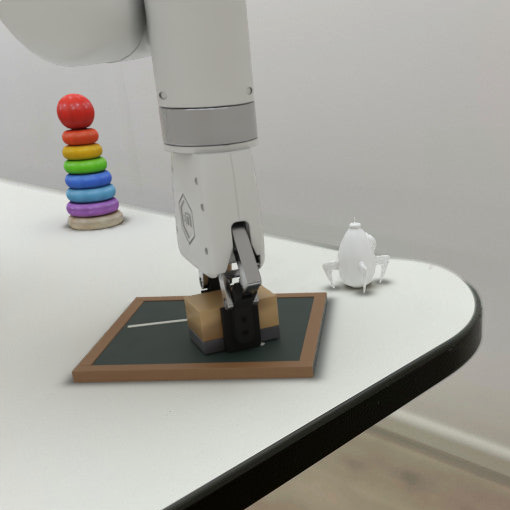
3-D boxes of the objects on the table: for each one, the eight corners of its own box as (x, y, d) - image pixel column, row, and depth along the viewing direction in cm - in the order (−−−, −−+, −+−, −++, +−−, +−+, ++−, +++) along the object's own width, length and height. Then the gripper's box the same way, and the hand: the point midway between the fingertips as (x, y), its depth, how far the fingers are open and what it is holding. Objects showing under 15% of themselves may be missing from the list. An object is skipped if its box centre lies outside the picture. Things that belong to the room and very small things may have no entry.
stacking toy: (135, 221, 116) (114, 91, 109) (98, 234, 110) (74, 96, 102) (95, 217, 120) (72, 91, 112) (57, 230, 113) (30, 96, 105)
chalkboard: (74, 385, 64) (71, 371, 63) (138, 308, 81) (136, 296, 80) (313, 380, 63) (312, 366, 63) (327, 303, 80) (326, 291, 79)
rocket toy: (390, 284, 85) (389, 213, 82) (367, 299, 81) (365, 225, 77) (348, 277, 87) (345, 209, 84) (323, 292, 83) (319, 220, 80)
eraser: (205, 355, 65) (199, 311, 64) (189, 338, 69) (183, 296, 67) (280, 337, 68) (276, 295, 67) (261, 322, 72) (257, 281, 70)
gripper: (137, 122, 66) (166, 318, 74) (195, 145, 53) (224, 383, 60) (220, 114, 70) (240, 303, 77) (295, 134, 56) (310, 362, 63)
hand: (233, 336), depth 69 cm, fingers closed on eraser, 4 cm apart
